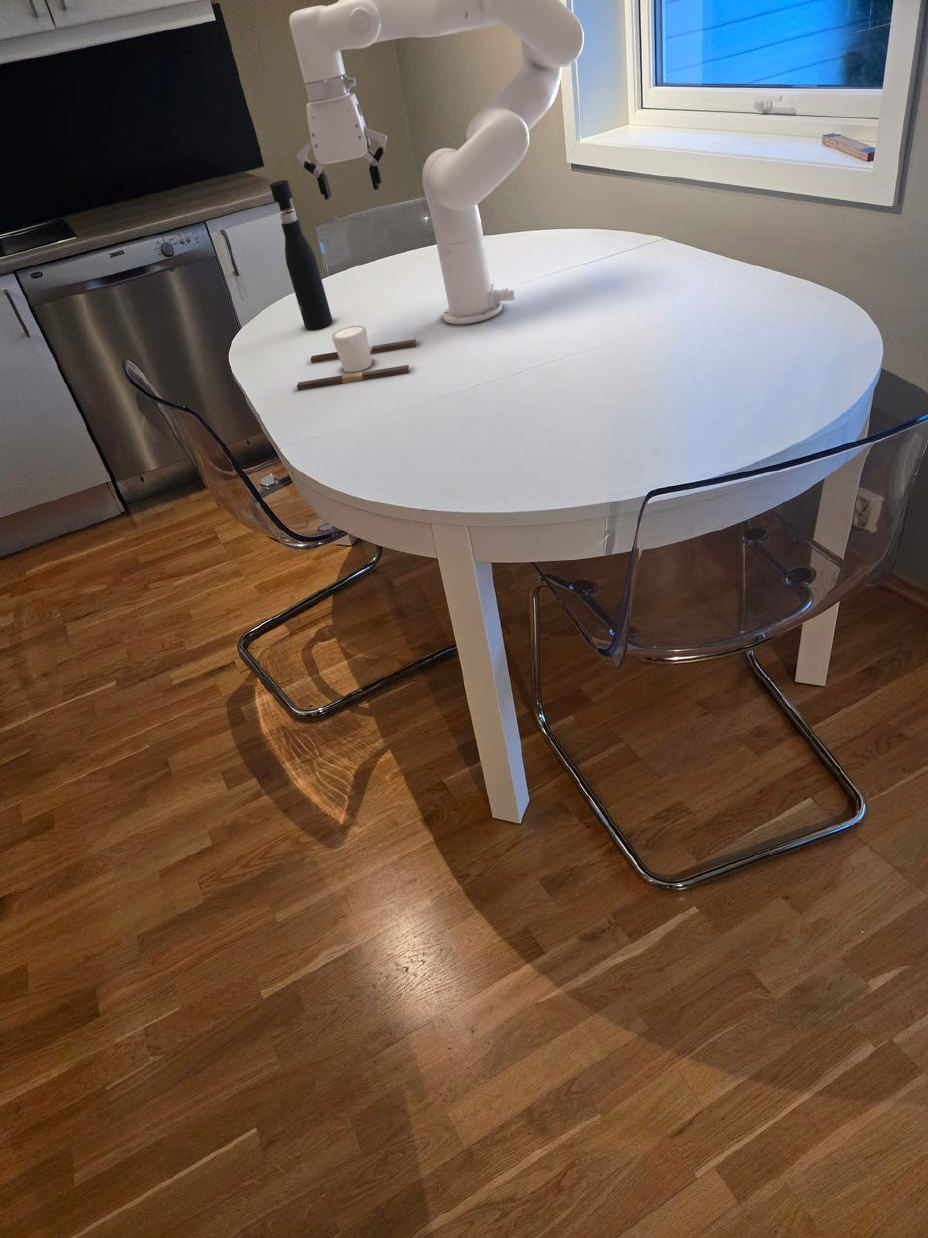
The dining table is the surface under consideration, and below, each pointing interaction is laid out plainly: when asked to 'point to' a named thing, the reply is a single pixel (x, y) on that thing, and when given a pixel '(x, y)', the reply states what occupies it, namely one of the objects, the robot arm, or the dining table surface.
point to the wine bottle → (301, 264)
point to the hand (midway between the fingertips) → (352, 192)
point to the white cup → (352, 348)
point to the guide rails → (360, 375)
